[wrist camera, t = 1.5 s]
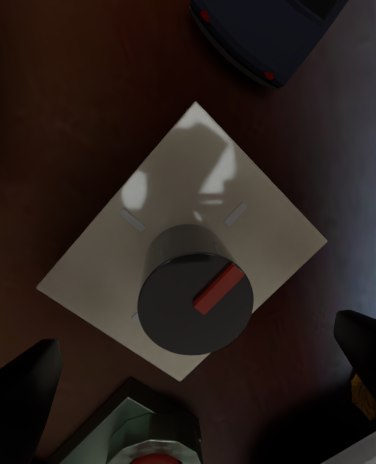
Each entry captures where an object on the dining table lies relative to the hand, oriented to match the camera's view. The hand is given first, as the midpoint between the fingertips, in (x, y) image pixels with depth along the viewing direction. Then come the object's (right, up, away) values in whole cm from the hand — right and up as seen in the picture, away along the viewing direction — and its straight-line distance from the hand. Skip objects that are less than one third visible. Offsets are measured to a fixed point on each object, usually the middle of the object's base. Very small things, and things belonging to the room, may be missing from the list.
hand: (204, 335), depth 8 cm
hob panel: (-1, +2, +8) cm, 9 cm away
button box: (-6, -13, +12) cm, 19 cm away
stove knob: (-1, +2, +5) cm, 5 cm away
